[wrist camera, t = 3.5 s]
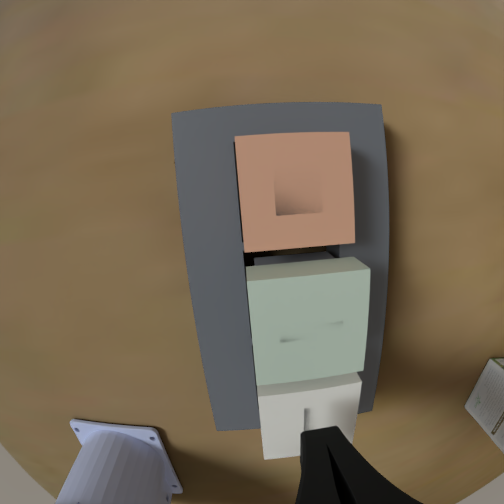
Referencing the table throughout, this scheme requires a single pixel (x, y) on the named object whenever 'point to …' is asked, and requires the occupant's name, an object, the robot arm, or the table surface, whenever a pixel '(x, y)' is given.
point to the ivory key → (306, 411)
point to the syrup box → (489, 401)
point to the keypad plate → (232, 244)
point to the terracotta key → (295, 190)
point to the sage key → (307, 316)
